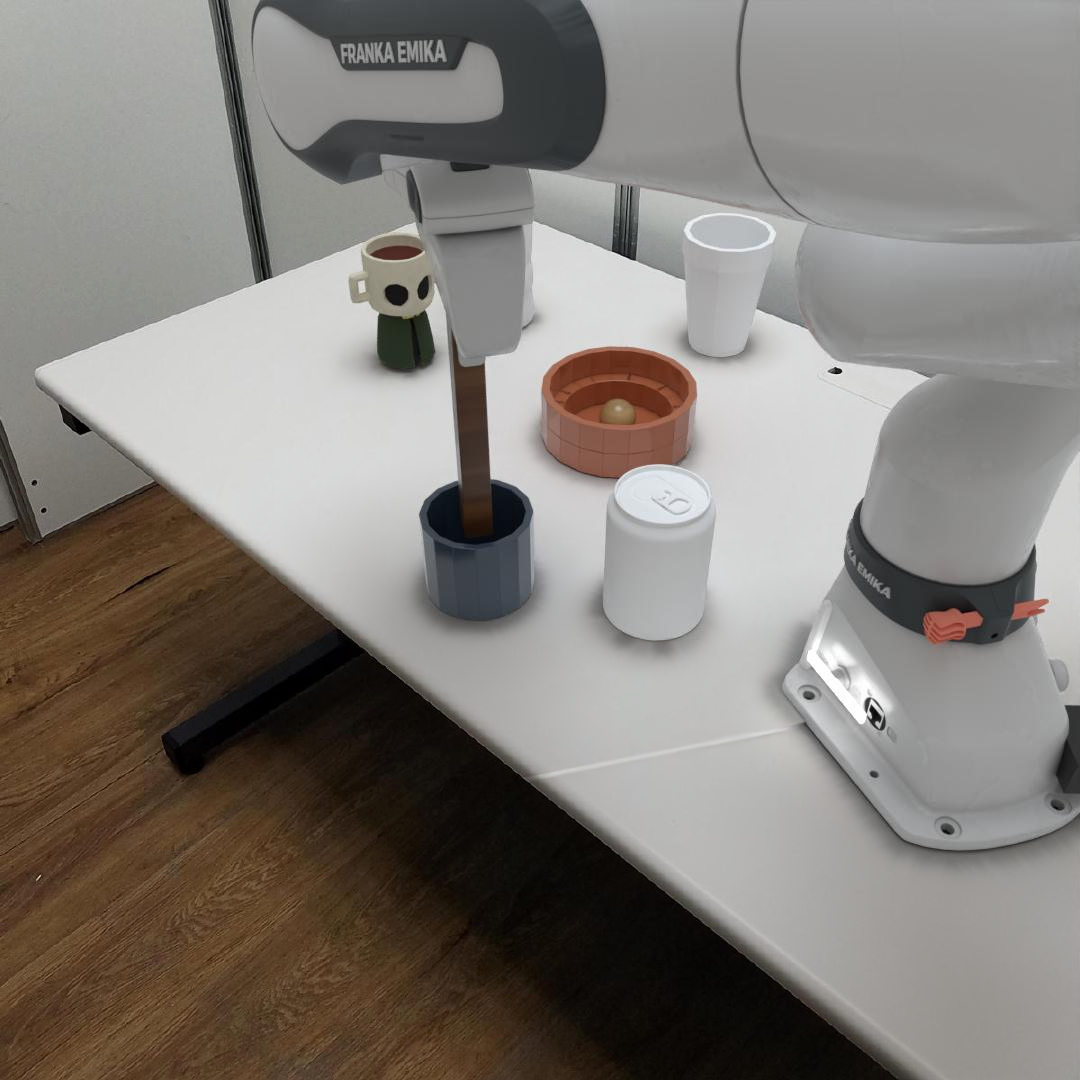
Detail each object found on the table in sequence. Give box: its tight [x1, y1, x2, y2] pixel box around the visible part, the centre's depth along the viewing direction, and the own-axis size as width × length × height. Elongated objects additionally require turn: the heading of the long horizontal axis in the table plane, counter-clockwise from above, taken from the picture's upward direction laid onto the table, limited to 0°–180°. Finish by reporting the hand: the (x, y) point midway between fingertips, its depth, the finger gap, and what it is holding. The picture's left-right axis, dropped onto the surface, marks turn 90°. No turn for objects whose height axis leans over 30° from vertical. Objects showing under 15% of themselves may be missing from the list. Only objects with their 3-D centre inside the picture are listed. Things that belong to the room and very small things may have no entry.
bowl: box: [540, 345, 698, 479], centre depth 103 cm, size 15×15×6 cm
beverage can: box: [602, 464, 717, 641], centre depth 82 cm, size 8×8×12 cm
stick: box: [445, 314, 493, 538], centre depth 78 cm, size 2×2×20 cm
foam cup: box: [681, 212, 777, 358], centre depth 114 cm, size 10×9×13 cm
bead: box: [599, 399, 636, 425], centre depth 103 cm, size 4×4×4 cm
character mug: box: [348, 231, 436, 370], centre depth 112 cm, size 11×7×13 cm, turn 120°
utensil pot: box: [418, 478, 536, 622], centre depth 86 cm, size 9×9×8 cm
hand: (466, 348), depth 74 cm, fingers closed on stick, 2 cm apart
